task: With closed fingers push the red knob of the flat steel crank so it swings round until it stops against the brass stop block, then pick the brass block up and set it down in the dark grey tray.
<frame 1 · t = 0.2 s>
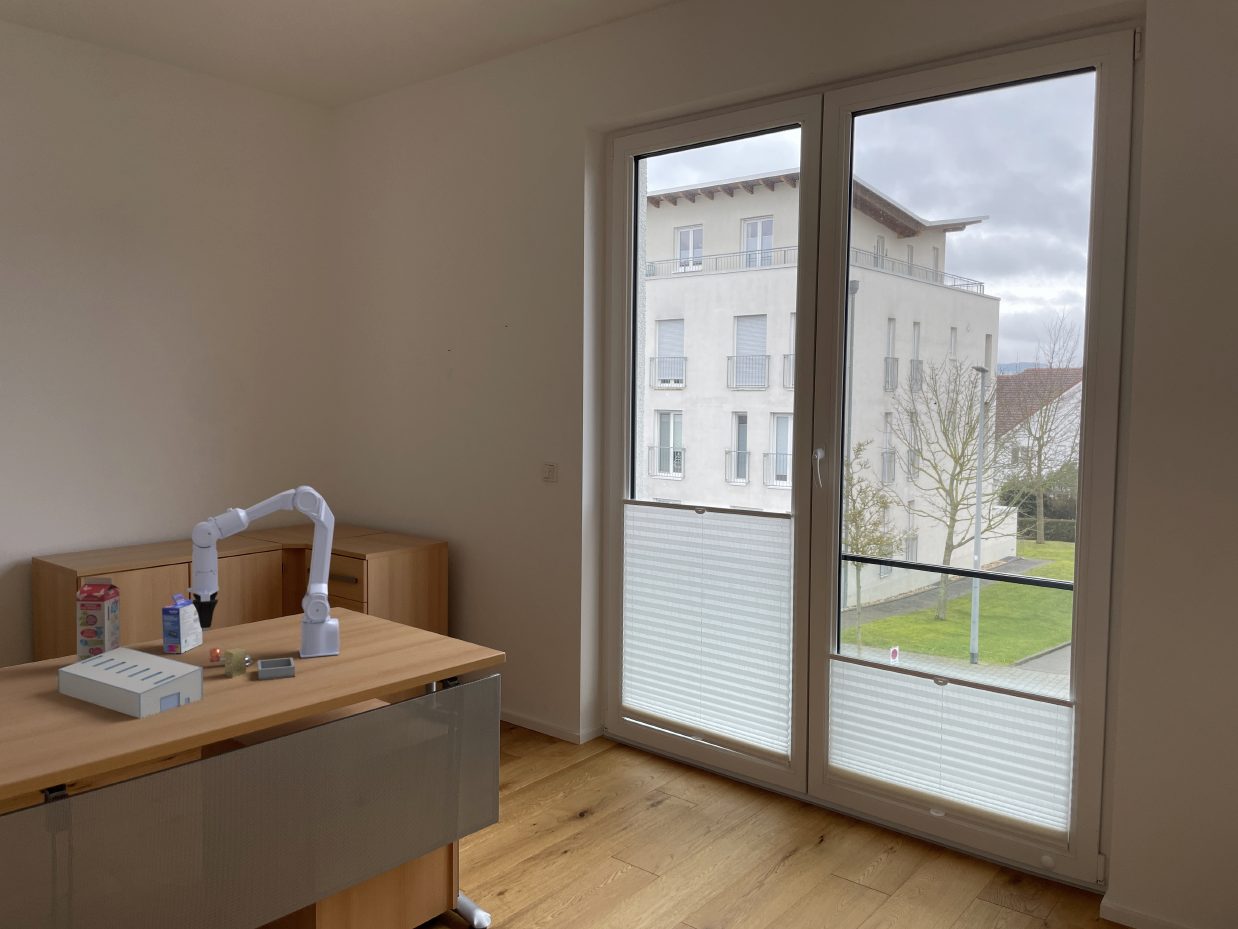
hand: (205, 624, 217), 10 cm above the table, tool pointing down, fingers open, 7 cm apart
warehouse: (130, 698, 192), on the table
stop block: (235, 675, 209), on the table
bearing: (241, 664, 217), on the table
tray: (276, 673, 210), on the table
ink cartridge box: (182, 649, 229), on the table
crank: (230, 655, 216), point 3 cm above the table, hinge at 0.0°
juice carton: (99, 666, 213), on the table
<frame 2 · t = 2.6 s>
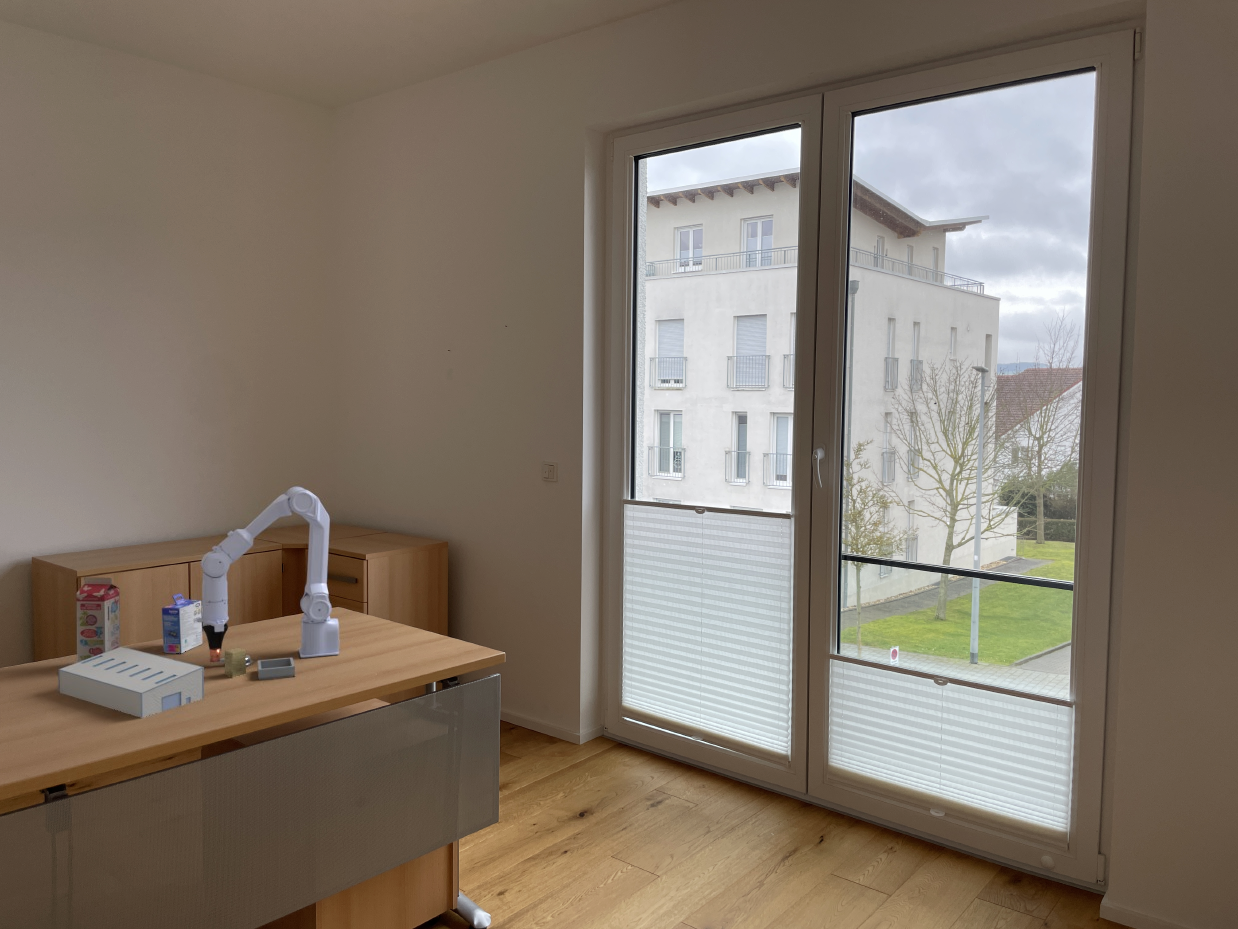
hand: (215, 653, 216), 3 cm above the table, tool pointing down, fingers closed, pressing on crank
crank: (230, 655, 216), point 3 cm above the table, hinge at 0.5°, touching gripper
everything else where it was.
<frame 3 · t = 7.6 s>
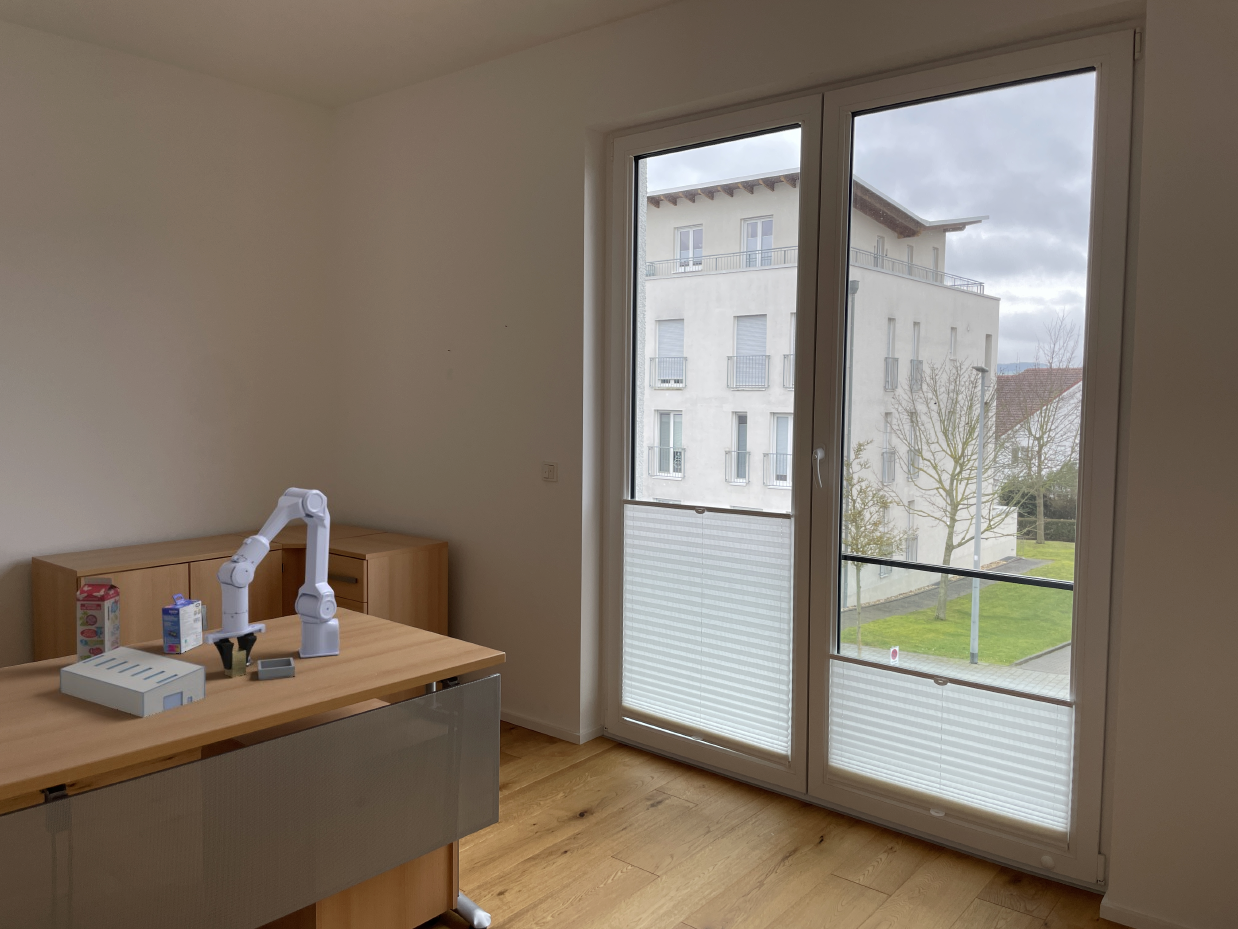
hand: (235, 667, 208), 2 cm above the table, tool pointing down, fingers closed on stop block, 3 cm apart
stop block: (235, 674, 209), on the table, touching gripper
crank: (237, 656, 214), point 3 cm above the table, hinge at 66.9°
everything else where it was.
when the fingers open (4 cm above the table, at t = 11.2 s): stop block stays where it is, resting on tray.
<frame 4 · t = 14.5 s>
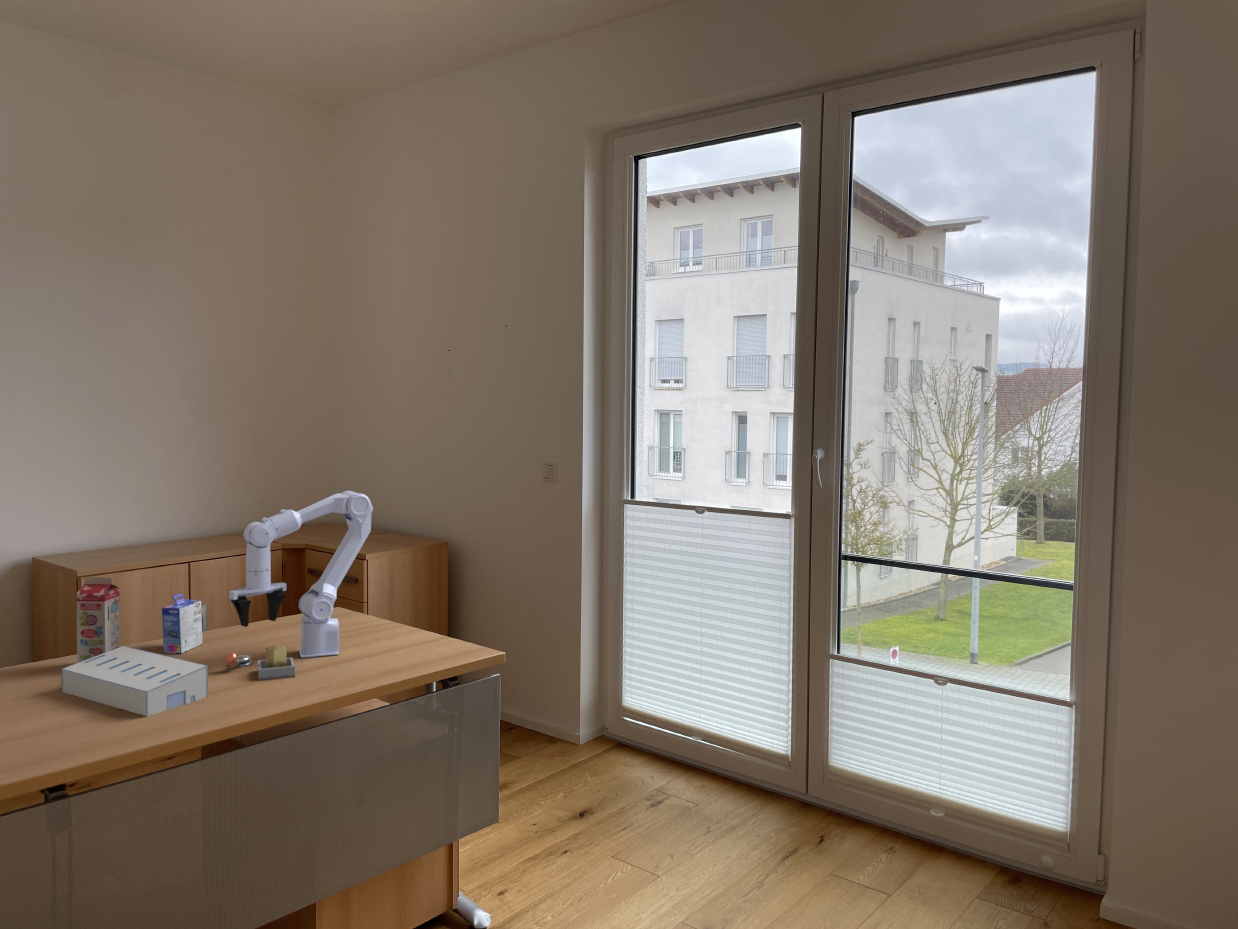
hand: (258, 623, 219), 10 cm above the table, tool pointing down, fingers open, 7 cm apart
stop block: (276, 671, 210), resting on tray
at the end: stop block inside the target area on the tray (0.0 cm from its centre), point 0.5 cm above the tray's base; stop block tilted 0°; crank at +67° (first picture: +0°) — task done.
